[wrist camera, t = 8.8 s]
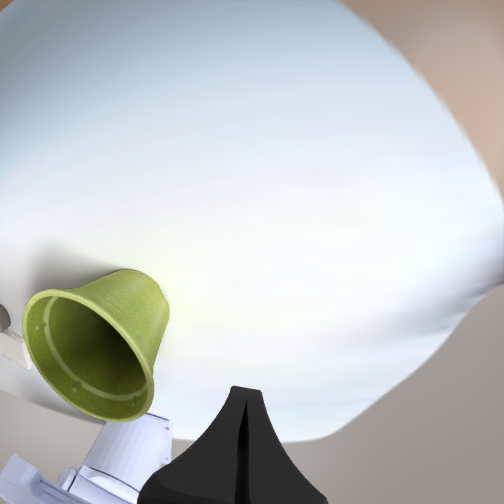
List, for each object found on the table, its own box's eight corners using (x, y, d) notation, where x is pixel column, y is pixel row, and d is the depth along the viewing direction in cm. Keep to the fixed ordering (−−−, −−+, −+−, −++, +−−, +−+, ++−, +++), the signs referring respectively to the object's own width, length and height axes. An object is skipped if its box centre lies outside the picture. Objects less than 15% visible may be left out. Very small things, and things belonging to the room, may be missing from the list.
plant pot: (94, 230, 20) (17, 264, 12) (204, 271, 20) (164, 336, 12) (85, 326, 23) (31, 380, 14) (178, 367, 23) (145, 441, 15)
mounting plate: (32, 366, 25) (28, 370, 24) (-5, 343, 25) (-9, 346, 25) (25, 339, 24) (21, 344, 23) (-11, 317, 24) (-16, 320, 23)
